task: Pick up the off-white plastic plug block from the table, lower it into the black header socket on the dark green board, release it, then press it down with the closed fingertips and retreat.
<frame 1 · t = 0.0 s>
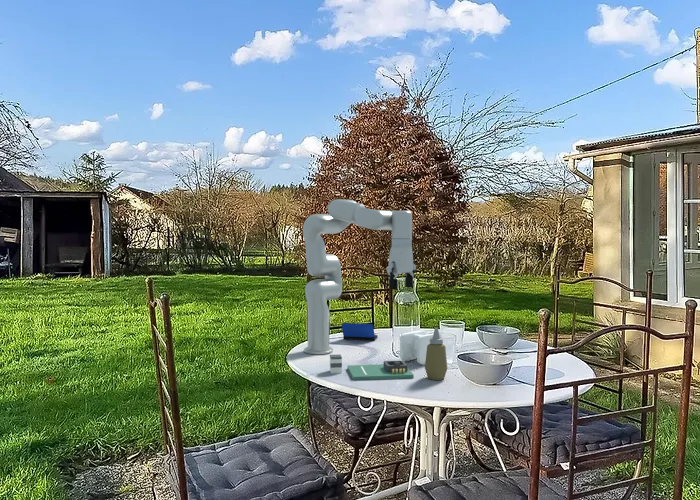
hand: (401, 288, 204), 31 cm above the table, tool pointing down, fingers open, 9 cm apart
handheld game console: (359, 340, 262), on the table
board: (379, 373, 201), on the table
cable organizer: (420, 361, 219), on the table
squeeze bottle: (435, 378, 194), on the table
plug: (335, 371, 202), on the table
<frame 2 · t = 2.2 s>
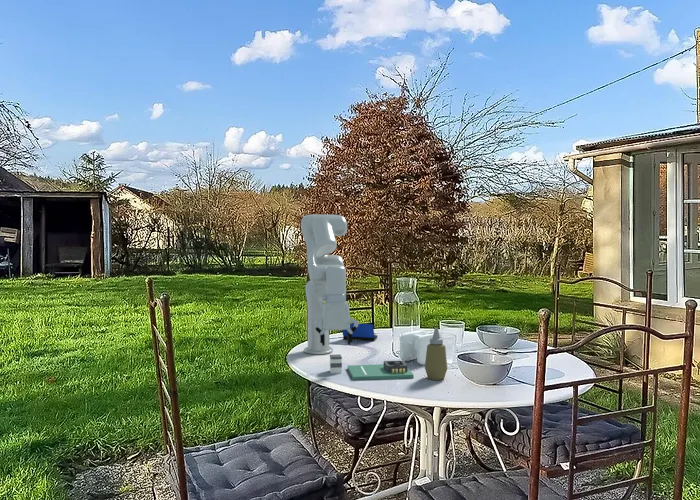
hand: (336, 344, 201), 10 cm above the table, tool pointing down, fingers open, 9 cm apart
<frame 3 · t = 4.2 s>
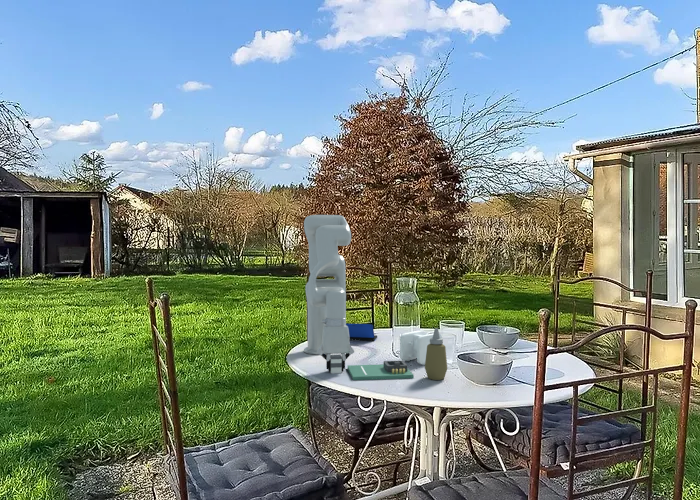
hand: (335, 370, 202), 1 cm above the table, tool pointing down, fingers closed on plug, 4 cm apart
plug: (335, 371, 202), on the table, touching gripper
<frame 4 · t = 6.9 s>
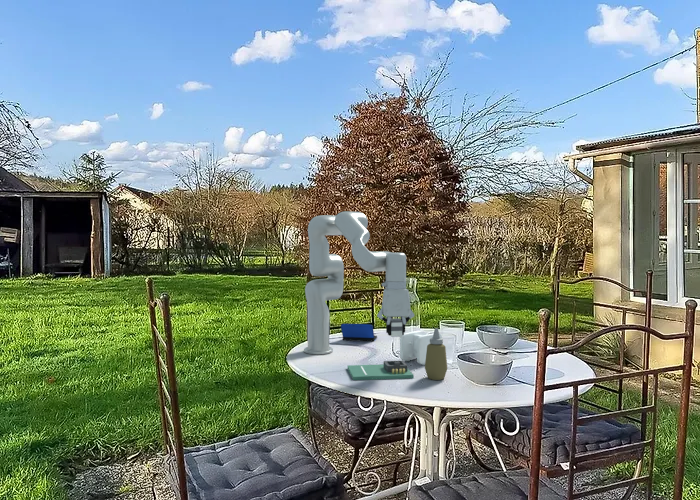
hand: (395, 334, 201), 15 cm above the table, tool pointing down, fingers closed on plug, 4 cm apart
plug: (395, 335, 201), point 14 cm above the table, touching gripper
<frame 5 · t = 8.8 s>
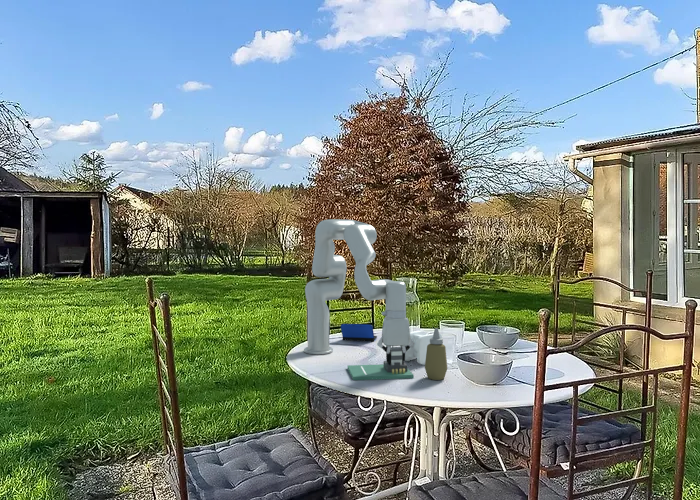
hand: (395, 362, 201), 4 cm above the table, tool pointing down, fingers closed on plug, 4 cm apart
plug: (395, 364, 201), point 3 cm above the table, touching gripper
when the fingers open (4 cm above the table, at t = 9.7 s): plug drops 2 cm, resting on board.
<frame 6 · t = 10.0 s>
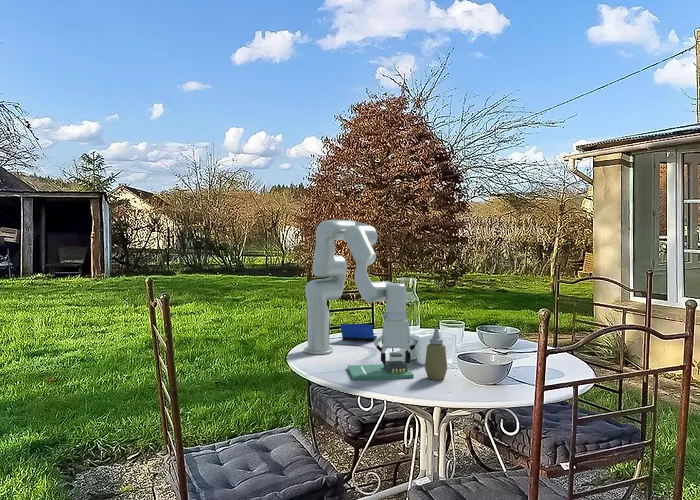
hand: (395, 362, 201), 4 cm above the table, tool pointing down, fingers open, 8 cm apart
plug: (395, 369, 201), point 1 cm above the table, touching board
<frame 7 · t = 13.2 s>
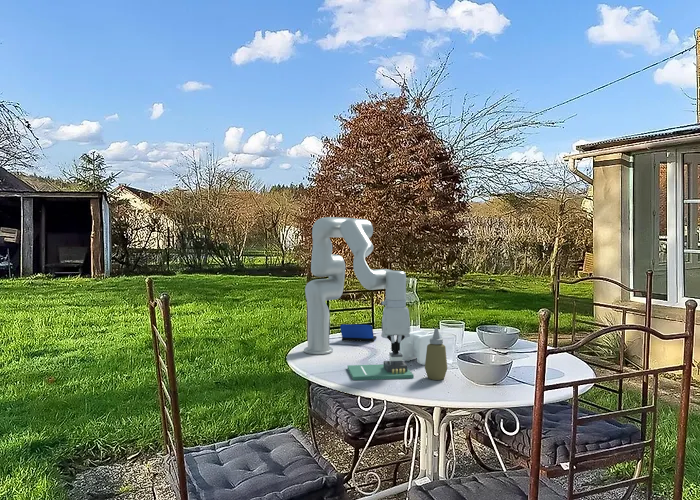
hand: (395, 352, 201), 8 cm above the table, tool pointing down, fingers closed
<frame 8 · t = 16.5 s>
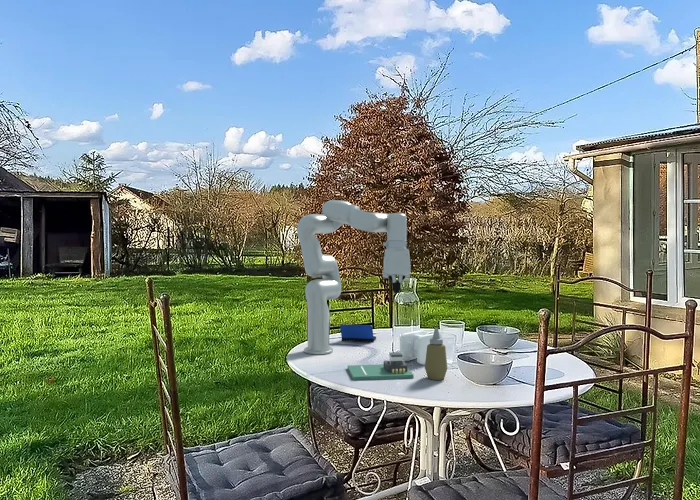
hand: (396, 292, 208), 29 cm above the table, tool pointing down, fingers closed
at the end: plug 0.3 cm from the target spot on the board, point 1.2 cm above the board's base; plug tilted 0°; the gripper is holding nothing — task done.
